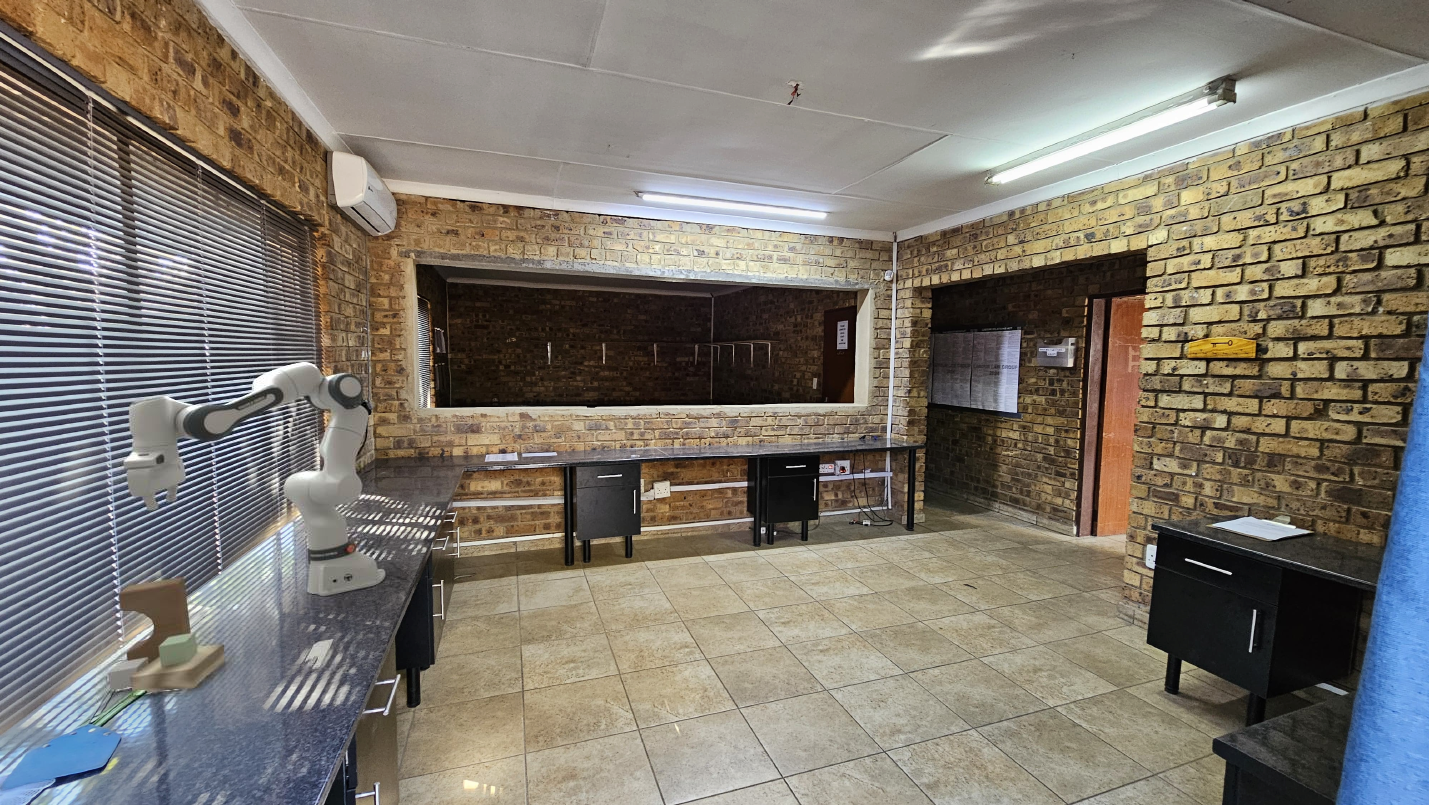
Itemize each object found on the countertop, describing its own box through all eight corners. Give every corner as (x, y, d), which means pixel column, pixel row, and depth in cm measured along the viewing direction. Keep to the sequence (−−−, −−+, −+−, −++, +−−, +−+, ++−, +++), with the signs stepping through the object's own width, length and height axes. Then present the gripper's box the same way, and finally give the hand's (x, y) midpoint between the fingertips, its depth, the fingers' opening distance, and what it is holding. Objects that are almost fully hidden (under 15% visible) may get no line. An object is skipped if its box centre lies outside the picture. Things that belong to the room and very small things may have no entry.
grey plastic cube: (150, 677, 139) (147, 657, 139) (138, 687, 134) (136, 667, 134) (123, 682, 137) (120, 662, 137) (110, 693, 132) (108, 672, 132)
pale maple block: (225, 662, 145) (223, 643, 145) (194, 689, 133) (191, 669, 133) (169, 670, 142) (167, 650, 142) (132, 698, 131) (130, 677, 130)
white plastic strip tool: (295, 675, 138) (294, 670, 138) (311, 646, 152) (311, 642, 152) (320, 669, 140) (319, 665, 140) (334, 642, 154) (333, 638, 154)
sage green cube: (197, 651, 141) (194, 632, 140) (188, 661, 136) (185, 641, 136) (171, 656, 139) (168, 637, 138) (161, 667, 134) (158, 646, 134)
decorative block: (127, 670, 142) (117, 593, 140) (138, 660, 147) (128, 584, 145) (185, 659, 147) (175, 583, 145) (193, 649, 152) (185, 576, 150)
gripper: (162, 451, 164) (168, 498, 165) (118, 463, 145) (125, 516, 146) (189, 449, 166) (195, 495, 168) (150, 460, 147) (157, 513, 148)
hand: (162, 505), depth 157 cm, fingers open, 8 cm apart
